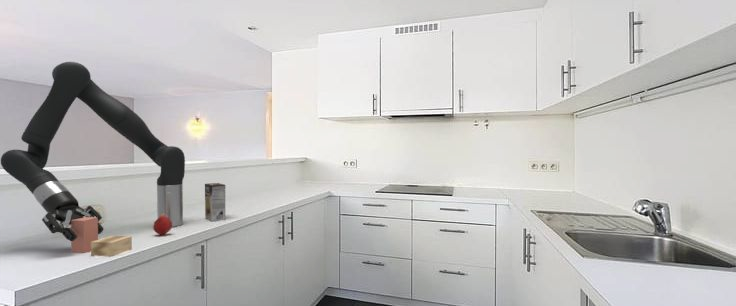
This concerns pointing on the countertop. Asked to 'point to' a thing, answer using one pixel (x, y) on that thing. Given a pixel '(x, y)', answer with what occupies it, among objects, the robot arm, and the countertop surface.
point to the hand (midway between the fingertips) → (88, 235)
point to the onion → (162, 225)
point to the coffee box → (215, 201)
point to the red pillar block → (84, 234)
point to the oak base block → (111, 245)
